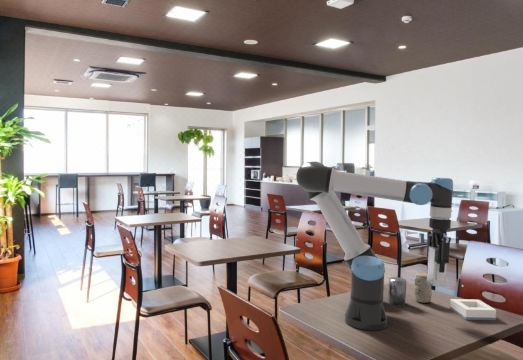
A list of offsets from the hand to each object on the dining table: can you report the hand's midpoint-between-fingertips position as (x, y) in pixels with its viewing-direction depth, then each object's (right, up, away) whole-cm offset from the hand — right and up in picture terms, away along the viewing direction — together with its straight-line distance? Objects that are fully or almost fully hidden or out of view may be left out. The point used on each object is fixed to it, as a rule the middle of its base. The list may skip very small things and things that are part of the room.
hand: (436, 278), depth 160 cm
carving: (+2, -15, +19) cm, 24 cm away
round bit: (-10, -14, +16) cm, 24 cm away
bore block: (+17, -16, +6) cm, 23 cm away
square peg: (0, -2, 0) cm, 2 cm away
